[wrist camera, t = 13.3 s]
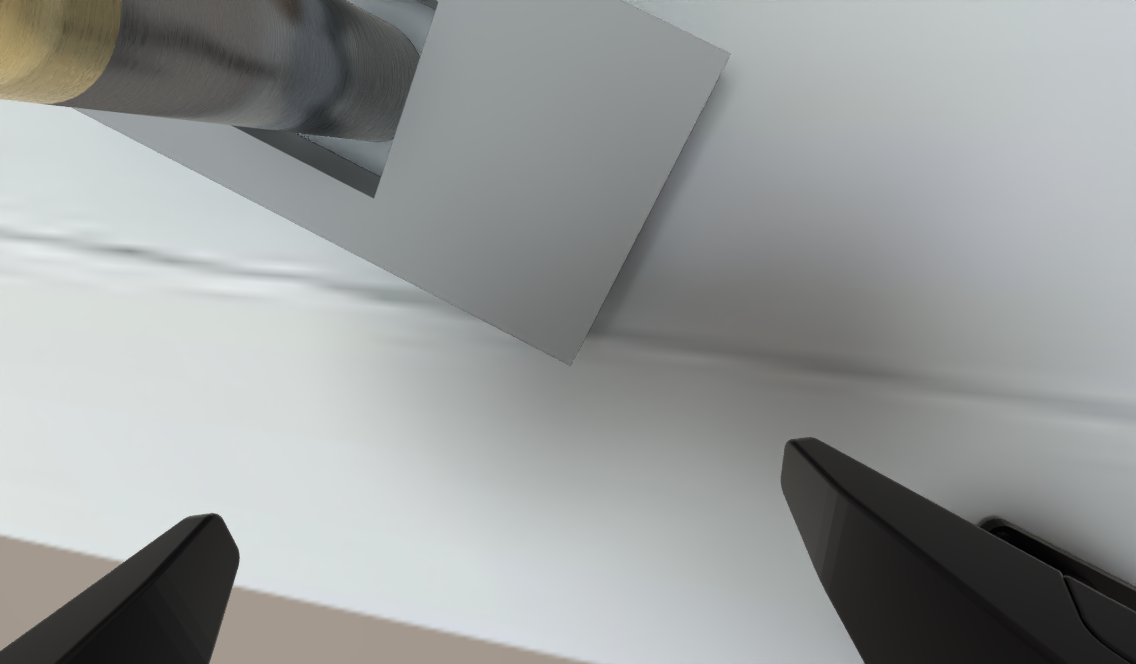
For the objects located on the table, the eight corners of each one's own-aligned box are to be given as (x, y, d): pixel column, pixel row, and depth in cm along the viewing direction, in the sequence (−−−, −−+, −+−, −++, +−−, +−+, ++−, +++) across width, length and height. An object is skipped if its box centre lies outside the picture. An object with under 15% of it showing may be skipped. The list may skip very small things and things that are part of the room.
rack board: (720, 74, 17) (730, 53, 14) (584, 339, 20) (570, 366, 17) (126, -217, 18) (22, -291, 15) (87, 83, 21) (-3, 68, 18)
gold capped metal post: (425, 22, 18) (-228, -387, 5) (424, 146, 19) (-107, 83, 6) (318, 16, 19) (-522, -364, 6) (323, 136, 20) (-359, 61, 7)
